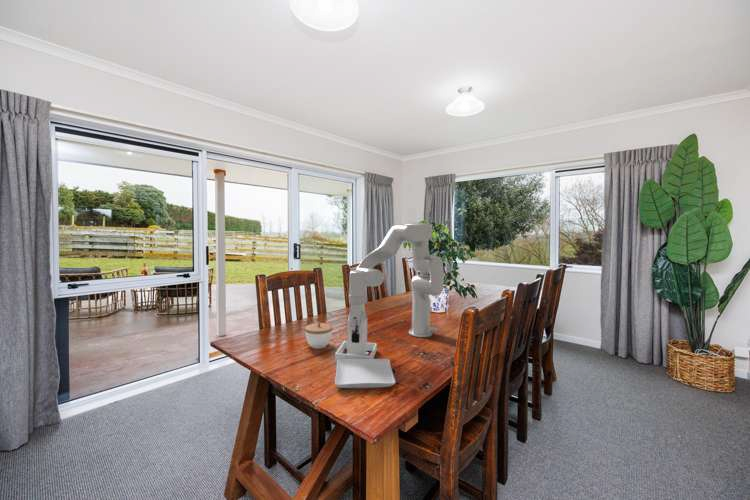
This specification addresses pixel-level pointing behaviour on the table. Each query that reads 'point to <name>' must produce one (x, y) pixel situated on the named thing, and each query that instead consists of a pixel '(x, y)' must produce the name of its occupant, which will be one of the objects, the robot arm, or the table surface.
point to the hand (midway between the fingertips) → (357, 338)
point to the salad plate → (364, 373)
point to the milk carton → (362, 345)
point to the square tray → (341, 356)
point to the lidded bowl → (318, 335)
